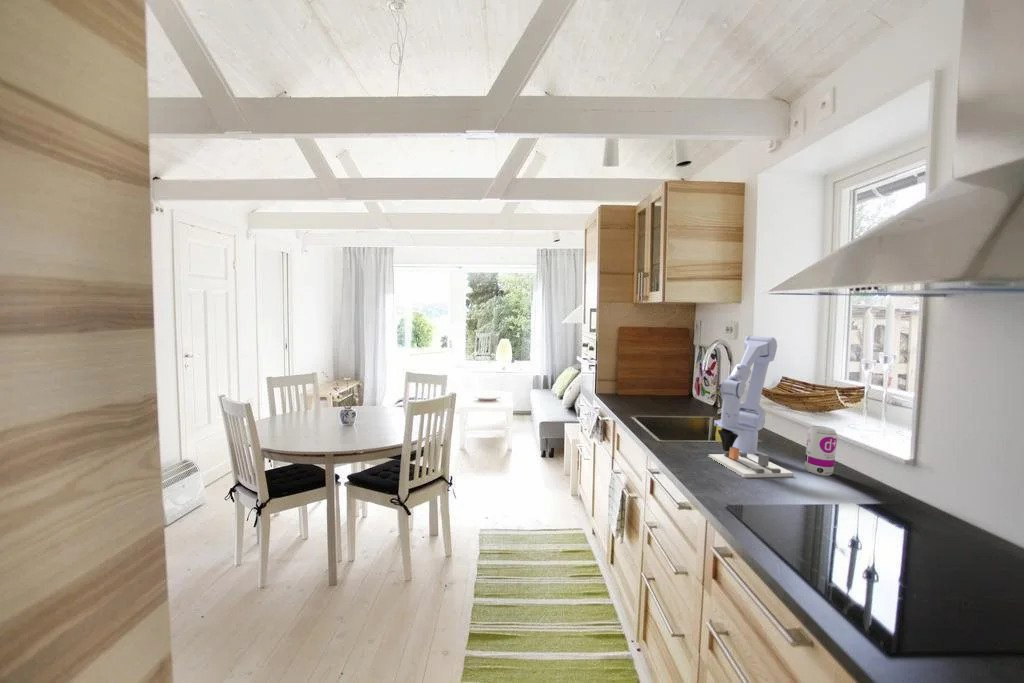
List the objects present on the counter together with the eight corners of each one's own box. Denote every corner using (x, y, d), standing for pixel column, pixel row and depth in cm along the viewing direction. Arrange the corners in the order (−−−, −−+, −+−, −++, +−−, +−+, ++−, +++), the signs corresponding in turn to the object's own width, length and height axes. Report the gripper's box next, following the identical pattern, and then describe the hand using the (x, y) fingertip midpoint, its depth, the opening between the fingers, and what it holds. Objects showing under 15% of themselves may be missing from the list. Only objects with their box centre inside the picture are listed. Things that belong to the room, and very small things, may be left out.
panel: (708, 457, 168) (708, 451, 167) (752, 457, 171) (753, 450, 171) (743, 477, 149) (744, 470, 149) (792, 476, 152) (793, 469, 152)
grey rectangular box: (757, 463, 158) (758, 453, 158) (763, 463, 159) (764, 453, 159) (762, 466, 156) (763, 455, 156) (768, 466, 157) (769, 455, 156)
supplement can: (838, 477, 154) (843, 432, 153) (813, 475, 154) (818, 431, 153) (822, 468, 162) (827, 426, 161) (798, 467, 162) (803, 424, 161)
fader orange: (728, 457, 164) (729, 447, 164) (734, 457, 165) (734, 447, 164) (733, 459, 162) (734, 449, 162) (738, 459, 162) (739, 449, 162)
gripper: (708, 408, 172) (704, 444, 173) (733, 418, 158) (729, 457, 159) (725, 408, 174) (721, 444, 175) (751, 418, 159) (748, 457, 160)
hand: (726, 450), depth 167 cm, fingers closed
